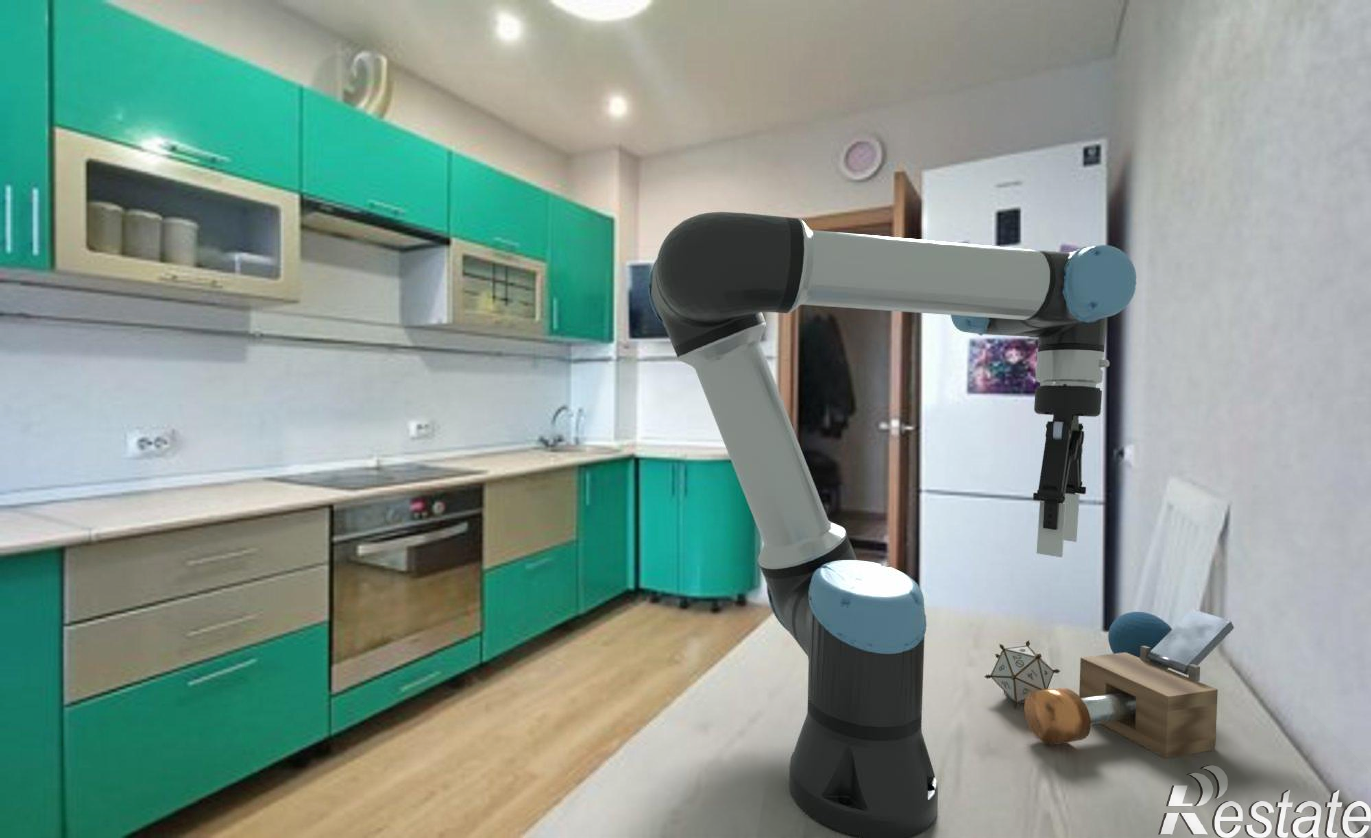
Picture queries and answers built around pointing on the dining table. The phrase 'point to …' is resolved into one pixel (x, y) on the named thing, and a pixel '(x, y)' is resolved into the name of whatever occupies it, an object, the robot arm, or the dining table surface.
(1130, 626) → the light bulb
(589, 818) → the dining table surface
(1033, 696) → the pin
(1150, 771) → the dining table surface
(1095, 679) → the hitch block
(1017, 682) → the game die
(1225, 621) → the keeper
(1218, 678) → the dining table surface
